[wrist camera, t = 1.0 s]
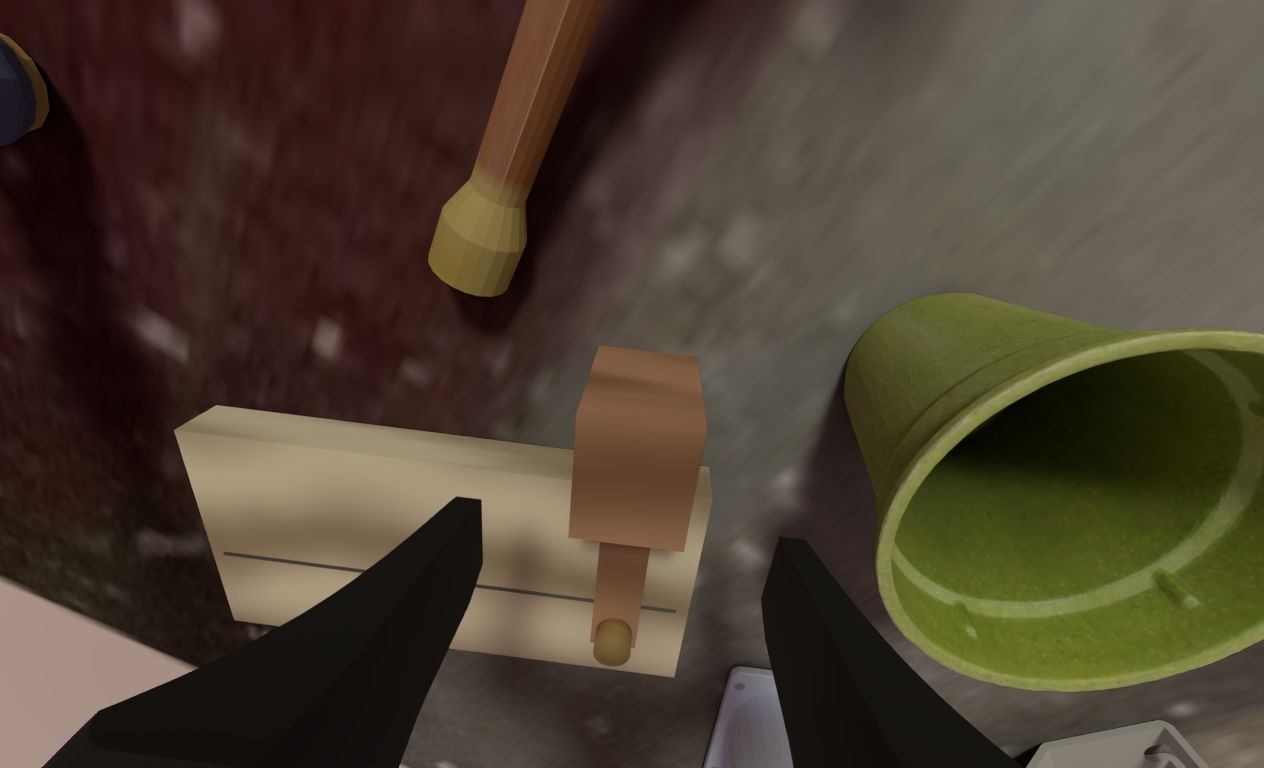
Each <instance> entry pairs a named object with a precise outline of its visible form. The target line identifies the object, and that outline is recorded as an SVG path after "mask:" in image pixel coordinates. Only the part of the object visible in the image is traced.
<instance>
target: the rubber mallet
mask: <svg viewBox="0 0 1264 768" xmlns="http://www.w3.org/2000/svg"><path fill="white" fill-rule="evenodd" d="M48 112H49V102H48V95H47V87H46V84H45V83H44V81H43V79H42V77H41V75H40V73H39V71H38V69H37V68H36V66H35V64H34V62H33V60H32V59H31V58H30V57H29V56H28V55H27V54H26V53H25V52H24V51H23V50H22V49H21V48H20V47H19V46H18V45H17V44H16V43H15V42H14V41H13V40H12V39H11V38H9V37H7V36H5V35H3V34H1V33H0V146H3V145H7V144H11V143H13V142H15V141H16V140H18V139H19V138H21V137H22V136H24V135H25V134H26V133H27V132H29V131H32V130H35V129H37V128H40V127H42V125H43V123H44V121H45V119H46V116H47V114H48Z"/></svg>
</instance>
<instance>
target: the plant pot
mask: <svg viewBox="0 0 1264 768" xmlns="http://www.w3.org/2000/svg"><path fill="white" fill-rule="evenodd" d="M844 400H845V404H846V408H847V411H848V414H849V417H850V421H851V424H852V427H853V430H854V432H855V435H856V438H857V441H858V444H859V447H860V450H861V453H862V456H863V459H864V462H865V465H866V468H867V471H868V474H869V477H870V480H871V483H872V486H873V490H874V493H875V496H876V499H877V501H876V515H877V528H876V534H875V539H874V549H873V565H874V573H875V578H876V583H877V587H878V591H879V594H880V596H881V599H882V602H883V605H884V607H885V609H886V610H887V612H888V614H889V616H890V618H891V620H892V621H893V623H894V624H895V625H896V627H897V628H898V629H899V630H900V632H901V633H902V634H903V635H904V636H905V637H906V638H907V639H908V640H909V641H910V642H911V643H912V644H914V645H915V646H916V647H917V648H918V649H920V650H921V651H922V652H924V653H925V654H927V655H928V656H929V657H931V658H932V659H934V660H936V661H937V662H939V663H941V664H942V665H944V666H946V667H948V668H950V669H952V670H954V671H956V672H958V673H961V674H963V675H966V676H968V677H971V678H975V679H977V680H980V681H984V682H991V683H994V684H998V685H1001V686H1008V687H1014V688H1018V689H1026V690H1051V691H1060V692H1077V691H1089V690H1102V689H1111V688H1117V687H1123V686H1129V685H1134V684H1138V683H1143V682H1148V681H1153V680H1157V679H1161V678H1165V677H1169V676H1172V675H1174V674H1177V673H1182V672H1185V671H1188V670H1191V669H1195V668H1199V667H1202V666H1205V665H1207V664H1210V663H1213V662H1215V661H1218V660H1220V659H1222V658H1225V657H1227V656H1229V655H1231V654H1233V653H1236V652H1239V651H1241V650H1242V649H1244V648H1246V647H1248V646H1250V645H1252V644H1254V643H1256V642H1259V641H1261V640H1262V639H1264V334H1260V333H1255V332H1249V331H1244V330H1233V329H1222V328H1180V329H1167V330H1157V331H1147V330H1114V329H1110V328H1106V327H1102V326H1098V325H1094V324H1090V323H1087V322H1083V321H1079V320H1075V319H1071V318H1067V317H1063V316H1059V315H1055V314H1051V313H1047V312H1043V311H1039V310H1035V309H1031V308H1027V307H1023V306H1019V305H1016V304H1012V303H1008V302H1004V301H1001V300H997V299H993V298H989V297H985V296H982V295H977V294H973V293H948V294H938V295H931V296H923V297H919V298H916V299H914V300H911V301H908V302H906V303H904V304H902V305H900V306H898V307H897V308H895V309H893V310H892V311H890V312H888V313H887V314H885V315H884V316H883V317H881V318H880V319H879V320H877V321H876V322H875V323H874V324H873V325H872V326H871V327H870V328H869V329H868V330H867V331H866V332H865V334H864V335H863V336H862V337H861V339H860V340H859V341H858V343H857V344H856V346H855V347H854V349H853V351H852V353H851V355H850V357H849V360H848V363H847V369H846V375H845V384H844Z"/></svg>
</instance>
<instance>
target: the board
mask: <svg viewBox="0 0 1264 768" xmlns="http://www.w3.org/2000/svg"><path fill="white" fill-rule="evenodd" d="M174 432H175V435H176V438H177V441H178V444H179V448H180V451H181V454H182V457H183V460H184V463H185V466H186V470H187V473H188V476H189V479H190V482H191V485H192V488H193V492H194V495H195V498H196V501H197V504H198V507H199V510H200V514H201V517H202V520H203V523H204V526H205V529H206V533H207V536H208V539H209V542H210V545H211V548H212V551H213V555H214V558H215V561H216V564H217V567H218V570H219V573H220V577H221V580H222V583H223V586H224V589H225V592H226V595H227V599H228V602H229V605H230V608H231V611H232V614H233V617H234V620H236V621H244V622H251V623H259V624H267V625H274V626H281V625H283V624H285V623H286V622H288V621H290V620H292V619H294V618H295V617H297V616H299V615H301V614H302V613H304V612H305V611H307V610H309V609H310V608H312V607H313V606H315V605H317V604H318V603H320V602H321V601H323V600H324V599H326V598H328V597H329V596H331V595H332V594H334V593H335V592H337V591H338V590H339V589H341V588H342V587H344V586H345V585H347V584H348V583H350V582H351V581H352V580H354V579H355V578H356V577H358V576H359V575H360V574H362V573H363V572H364V571H366V570H367V569H368V568H370V567H371V566H373V565H374V564H375V563H377V562H378V561H379V560H381V559H382V558H383V557H384V556H386V555H387V554H388V553H390V552H391V551H392V550H393V549H394V548H396V547H397V546H398V545H399V544H401V543H402V542H403V541H404V540H405V539H407V538H408V537H409V536H410V535H412V534H413V533H414V532H415V531H416V530H417V529H419V528H420V527H421V526H422V525H423V524H424V523H426V522H427V521H428V520H429V519H430V518H431V517H433V516H434V515H435V514H436V513H437V512H438V511H439V510H441V509H442V508H443V507H444V506H445V505H446V504H448V503H449V502H450V501H451V500H452V499H454V498H455V497H456V496H458V497H466V498H474V499H482V540H483V565H482V568H481V571H480V574H479V577H478V580H477V583H476V586H475V589H474V592H473V595H472V598H471V601H470V604H469V606H468V608H467V610H466V612H465V615H464V617H463V619H462V621H461V623H460V625H459V627H458V630H457V632H456V634H455V636H454V638H453V640H452V642H451V644H450V647H449V648H451V649H459V650H466V651H474V652H482V653H489V654H497V655H505V656H512V657H520V658H528V659H535V660H543V661H551V662H559V663H566V664H574V665H582V666H589V667H597V668H605V669H612V670H620V671H628V672H635V673H643V674H651V675H658V676H666V677H674V676H675V672H676V667H677V662H678V658H679V653H680V649H681V644H682V639H683V635H684V630H685V625H686V621H687V616H688V612H689V607H690V602H691V598H692V593H693V589H694V584H695V579H696V575H697V570H698V565H699V561H700V556H701V552H702V547H703V542H704V538H705V533H706V529H707V524H708V519H709V515H710V510H711V505H712V501H713V494H712V486H711V478H710V470H709V467H704V466H700V471H699V476H698V481H697V487H696V492H695V497H694V502H693V507H692V512H691V518H690V523H689V528H688V533H687V538H686V544H685V549H684V552H678V551H670V550H662V549H654V548H650V552H649V558H648V565H647V571H646V578H645V584H644V591H643V597H642V603H641V610H640V616H639V623H638V629H637V636H636V642H635V648H632V647H631V650H630V658H629V660H628V661H627V662H626V663H625V664H623V665H620V666H606V665H603V664H601V663H599V662H598V661H597V660H596V659H595V657H594V655H593V649H594V643H592V642H590V637H591V627H592V617H593V607H594V597H595V587H596V577H597V567H598V557H599V547H600V542H598V541H590V540H582V539H574V538H568V534H569V518H570V503H571V488H572V472H573V457H574V450H569V449H561V448H553V447H545V446H537V445H529V444H521V443H513V442H505V441H498V440H490V439H482V438H474V437H466V436H458V435H450V434H442V433H434V432H426V431H418V430H410V429H402V428H394V427H386V426H378V425H370V424H362V423H354V422H346V421H338V420H331V419H323V418H315V417H307V416H299V415H291V414H283V413H275V412H267V411H259V410H251V409H243V408H235V407H227V406H219V405H216V406H214V407H213V408H211V409H209V410H208V411H206V412H204V413H202V414H201V415H199V416H197V417H196V418H194V419H192V420H191V421H189V422H187V423H185V424H184V425H182V426H180V427H179V428H177V429H175V430H174Z"/></svg>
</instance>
